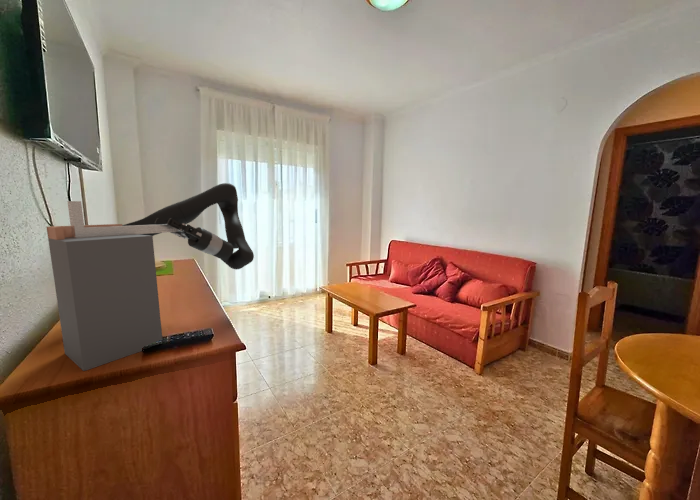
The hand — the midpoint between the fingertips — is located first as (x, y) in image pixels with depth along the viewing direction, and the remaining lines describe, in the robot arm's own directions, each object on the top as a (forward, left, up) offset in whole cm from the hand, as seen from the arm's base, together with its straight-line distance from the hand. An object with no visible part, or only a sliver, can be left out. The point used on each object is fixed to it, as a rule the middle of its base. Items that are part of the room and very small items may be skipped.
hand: (162, 220), depth 95 cm
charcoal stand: (+4, -17, -36) cm, 40 cm away
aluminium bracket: (0, -9, -4) cm, 10 cm away
